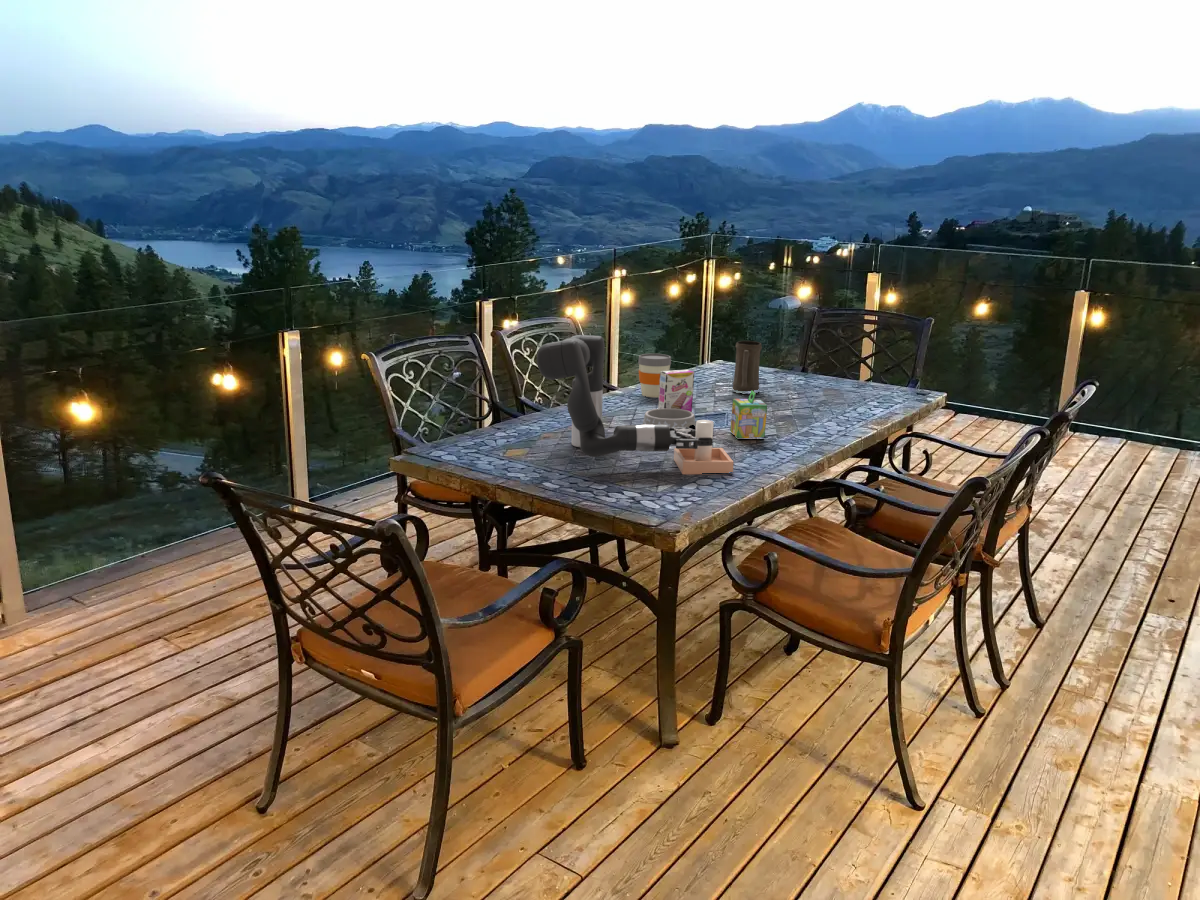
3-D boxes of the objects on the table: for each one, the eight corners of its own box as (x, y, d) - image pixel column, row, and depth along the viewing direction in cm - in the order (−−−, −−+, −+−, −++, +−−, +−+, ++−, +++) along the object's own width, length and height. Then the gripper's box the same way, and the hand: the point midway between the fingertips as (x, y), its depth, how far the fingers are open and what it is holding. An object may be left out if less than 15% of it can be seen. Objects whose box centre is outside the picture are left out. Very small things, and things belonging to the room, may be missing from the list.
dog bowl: (631, 429, 288) (632, 413, 286) (663, 419, 302) (664, 404, 300) (674, 439, 278) (675, 422, 276) (706, 428, 291) (707, 412, 290)
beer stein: (731, 388, 353) (734, 339, 346) (758, 389, 352) (761, 339, 345) (732, 398, 339) (735, 348, 332) (760, 400, 338) (764, 348, 331)
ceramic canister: (692, 460, 250) (694, 419, 247) (709, 460, 251) (711, 419, 247) (695, 465, 245) (697, 424, 242) (712, 465, 246) (715, 424, 243)
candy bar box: (664, 421, 299) (666, 373, 294) (657, 417, 303) (659, 370, 298) (692, 418, 303) (695, 371, 299) (685, 415, 308) (687, 368, 303)
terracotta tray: (673, 459, 254) (674, 448, 253) (721, 459, 256) (722, 447, 255) (682, 474, 241) (683, 462, 240) (732, 473, 242) (733, 461, 241)
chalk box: (729, 433, 285) (732, 388, 281) (757, 433, 286) (760, 388, 282) (736, 440, 276) (739, 394, 272) (765, 440, 277) (768, 394, 273)
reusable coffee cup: (637, 398, 332) (639, 358, 328) (636, 391, 344) (637, 353, 340) (671, 398, 332) (672, 359, 328) (668, 391, 344) (670, 353, 340)
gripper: (655, 431, 237) (715, 431, 238) (648, 418, 250) (704, 418, 252) (654, 458, 239) (713, 457, 240) (647, 443, 253) (703, 443, 254)
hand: (708, 437), depth 246 cm, fingers open, 8 cm apart
